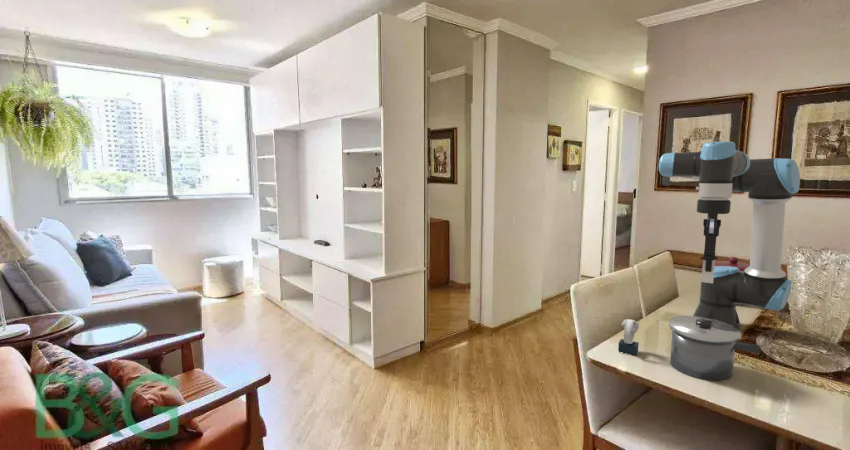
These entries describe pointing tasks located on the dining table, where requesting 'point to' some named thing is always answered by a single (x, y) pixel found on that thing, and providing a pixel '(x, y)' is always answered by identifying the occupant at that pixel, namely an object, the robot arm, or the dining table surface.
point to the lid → (704, 329)
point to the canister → (733, 265)
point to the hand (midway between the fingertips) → (707, 282)
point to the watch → (629, 338)
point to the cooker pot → (705, 357)
